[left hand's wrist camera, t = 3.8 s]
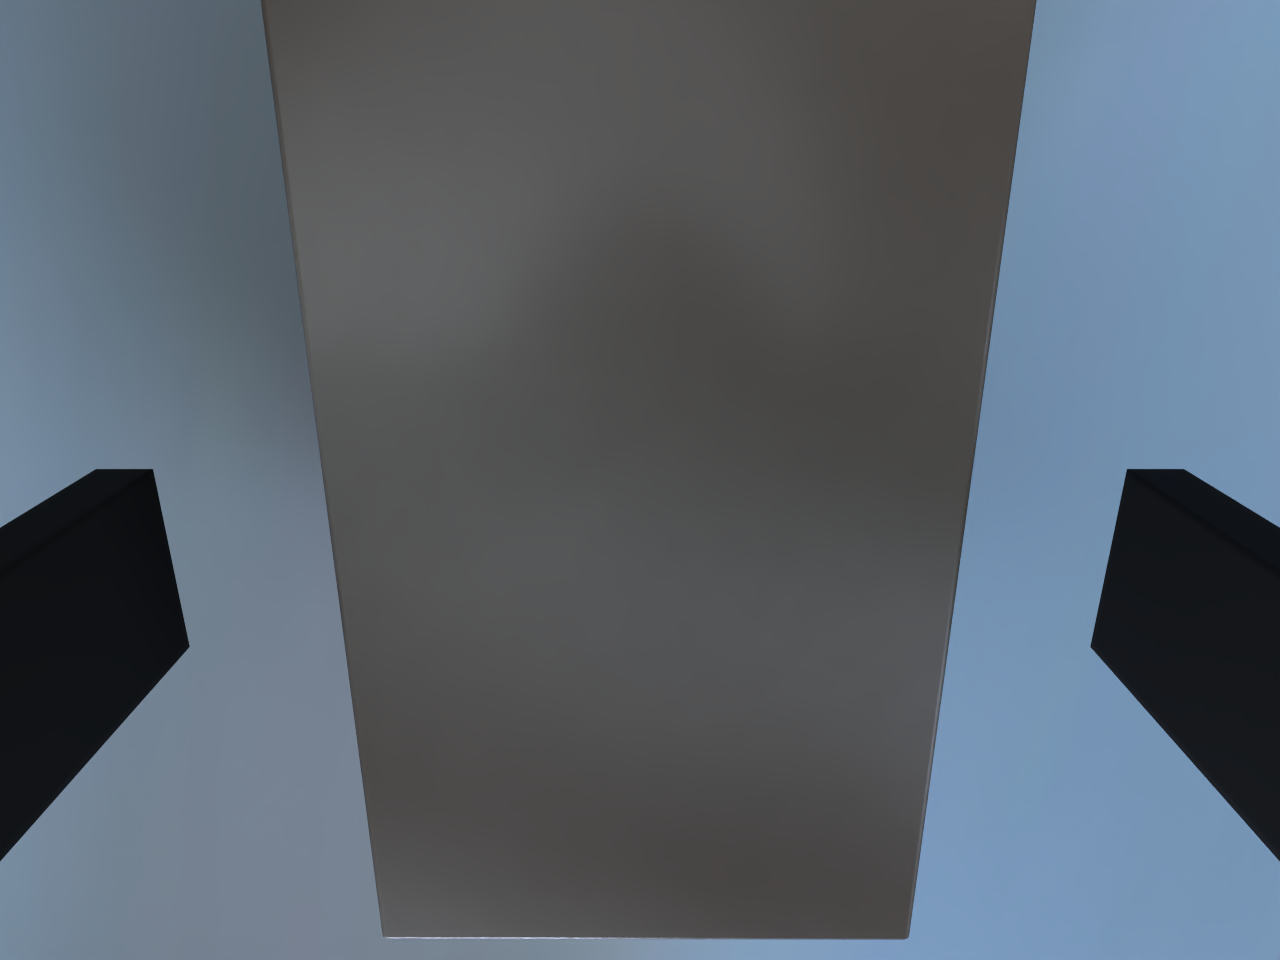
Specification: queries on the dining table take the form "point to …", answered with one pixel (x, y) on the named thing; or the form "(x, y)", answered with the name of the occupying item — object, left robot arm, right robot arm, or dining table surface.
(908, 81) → the grey rectangular box
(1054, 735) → the dining table surface
